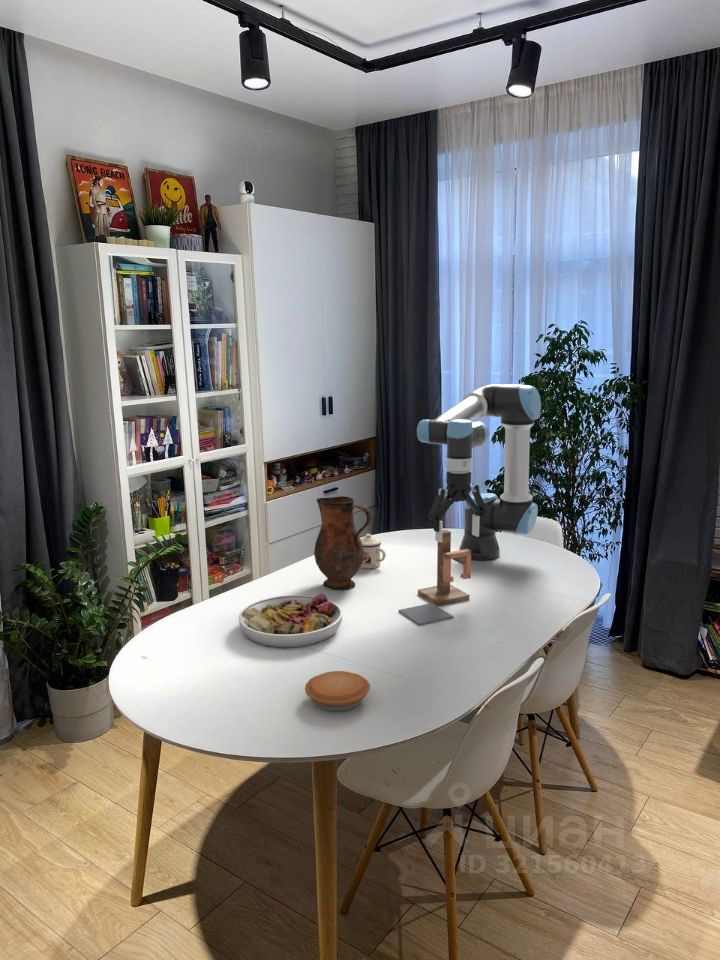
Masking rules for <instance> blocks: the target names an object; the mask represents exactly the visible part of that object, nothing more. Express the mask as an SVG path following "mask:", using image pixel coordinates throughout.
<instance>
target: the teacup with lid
mask: <svg viewBox="0 0 720 960" xmlns="http://www.w3.org/2000/svg"><path fill="white" fill-rule="evenodd" d="M360 539H361V541H362V545H363V549H364V556H363V562H362V564H361V566H360V568H361V569H376V568H378V567H380V566H381V562H383V561H384V560H385V559H386V557H387V556H386V552H385V550H384V549H383V548H381V544H382V542H381V540H380V538H377V537H374V536H372V533H371V534H370V533H366V534H365V536H363V537H360ZM381 554H382V557H381ZM360 568H359V569H360Z"/></svg>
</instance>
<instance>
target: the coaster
mask: <svg viewBox="0 0 720 960" xmlns="http://www.w3.org/2000/svg"><path fill="white" fill-rule="evenodd" d="M398 612H399V613H400V614H401V615H403V616H404V617H406V618H407V619H409V620H410V621H412V622H413V623H414V624H417V626H423V625H428V624H432V623H436V622H441V621H446V620H450V619H453V618H454V615H453V614H451V613H450V612H448V611H446V610H444V609H443V608H441V607H440V606H437V605H435V604H433V603H432V602H430V603H425V604H420V605H415V606H412V607H406V608H401V609H398Z"/></svg>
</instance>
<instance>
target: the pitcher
mask: <svg viewBox="0 0 720 960" xmlns="http://www.w3.org/2000/svg"><path fill="white" fill-rule="evenodd" d="M316 502H317V505H318V509H319V512H320V518H321V519H320V520H321V526H320V530H319V532H318V536H317V538H316V541H315V545H314V549H313V550H314V552H313V555H314V560H315V565H316V566H317V567H318V569H319V571H320V572H321V573H322V574H323V575H324V576H325V577H326V579H325V580H324V581H323V586H324V587H325V588H327V589H329V590H332V591H348V590H351V589H354V588H355V587H356V582H355V581H354V580H352V578H353V577H354V576H356V575H357V573H358V572H359V570H360V566H361V564H362V562H363V556H364V549H363V545H362V541H361V537H360V533H362V531H363V530H365V528H367V527H368V526H369V525H370V524H371V521H372V513H371V511H370V509H369V508H368V507H367V506H365V505H363V504H360V503H358V504H356V503H355V504H354V502H355V499H354V498H352V497H349V496H343V495H341V496H333V497H332V496H331V497H319V498H317V499H316ZM354 508H357V509H360V510H361V511H363V512H364V513H365V515H366V521H365V523H364V524H363V526H362V527H361V528H360V529H358V530H357V527H356V524H355V518H354Z"/></svg>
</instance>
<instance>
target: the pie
mask: <svg viewBox="0 0 720 960" xmlns="http://www.w3.org/2000/svg"><path fill="white" fill-rule="evenodd" d="M370 689H371V684H370V682H369V681H368V680H367V679H366V678H365V677H364V676H362V675H361V674H358V673H355V672H351V671H350V672H349V671H344V670H333V671H327V672H323V673H320V674H318V675H314V676H312V677H311V678H310V679H309V680H308V681H307V682H306V684H305V686H304V691H305V694H306V695H307V696H308V697H309V698H310V699H311V701H312V702H313V704H314V705H315V706H316V707H317V708H318V709H321V710H322V711H326V712H332V713H342V712H343V713H345V712H349V711H351V710H353V709H356V708H357V707H358V706H360V704H361V703H362V701H363V700H364V698H365V697H366V695H367V694H368V693H369V691H370Z"/></svg>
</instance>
